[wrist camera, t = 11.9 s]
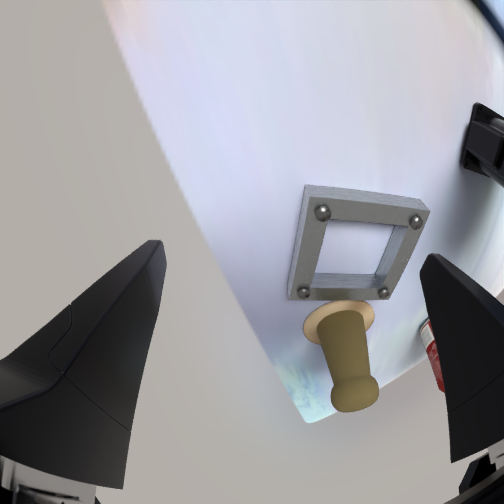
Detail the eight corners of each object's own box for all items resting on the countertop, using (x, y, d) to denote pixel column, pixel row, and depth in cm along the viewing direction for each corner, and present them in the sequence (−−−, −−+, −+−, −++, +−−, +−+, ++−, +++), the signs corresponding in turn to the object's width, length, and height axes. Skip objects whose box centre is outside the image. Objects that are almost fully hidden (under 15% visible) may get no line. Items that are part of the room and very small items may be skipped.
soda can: (411, 335, 35) (433, 404, 26) (431, 306, 31) (462, 382, 21) (441, 331, 35) (465, 393, 26) (462, 303, 31) (492, 370, 22)
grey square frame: (419, 199, 21) (432, 213, 19) (382, 286, 28) (389, 302, 26) (305, 184, 21) (310, 199, 19) (287, 284, 28) (289, 302, 26)
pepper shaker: (363, 332, 33) (382, 408, 24) (319, 343, 34) (330, 421, 25) (363, 304, 29) (389, 391, 20) (313, 317, 30) (326, 407, 22)
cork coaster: (384, 298, 29) (385, 301, 29) (359, 340, 35) (360, 343, 34) (312, 298, 29) (312, 301, 29) (297, 342, 35) (297, 346, 34)
